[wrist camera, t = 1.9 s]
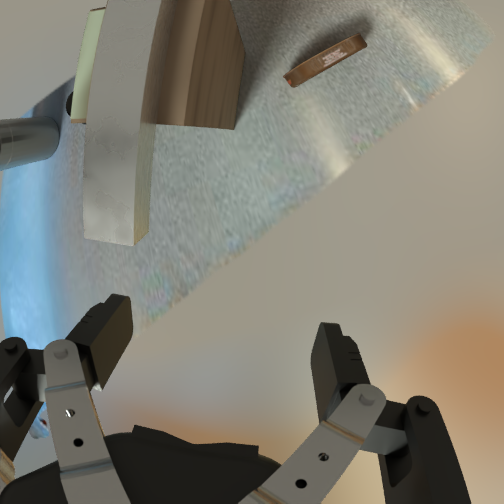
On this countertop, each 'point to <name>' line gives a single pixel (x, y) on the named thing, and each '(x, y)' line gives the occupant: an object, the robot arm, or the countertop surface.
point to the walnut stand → (183, 66)
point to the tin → (325, 60)
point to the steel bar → (124, 119)
